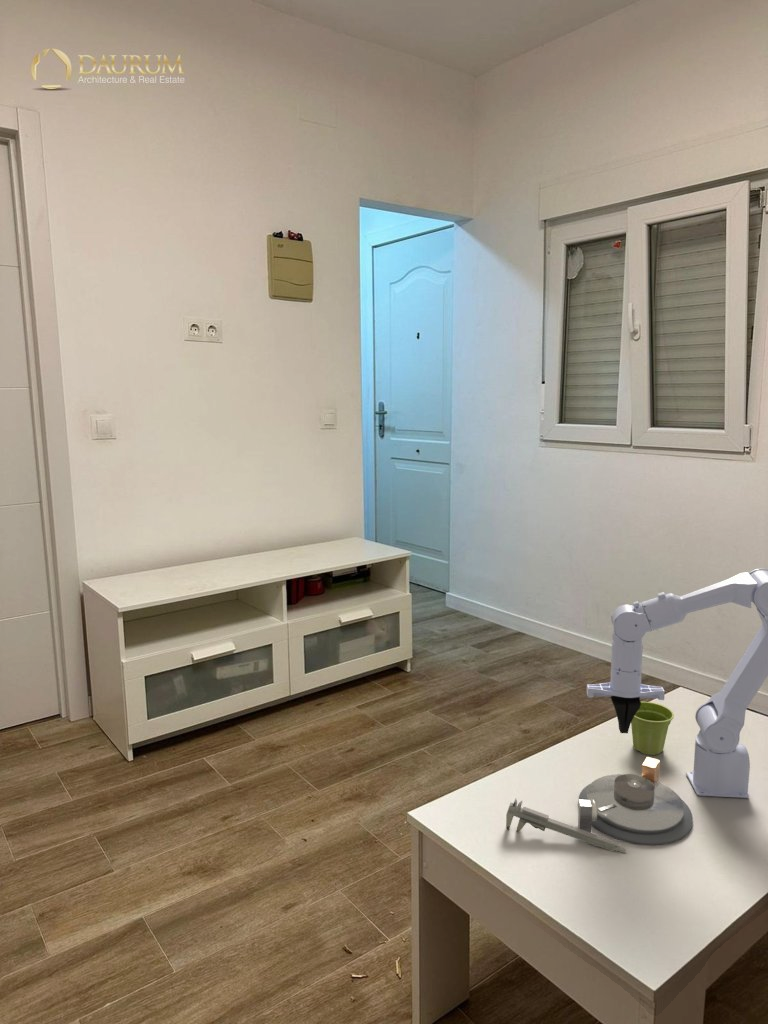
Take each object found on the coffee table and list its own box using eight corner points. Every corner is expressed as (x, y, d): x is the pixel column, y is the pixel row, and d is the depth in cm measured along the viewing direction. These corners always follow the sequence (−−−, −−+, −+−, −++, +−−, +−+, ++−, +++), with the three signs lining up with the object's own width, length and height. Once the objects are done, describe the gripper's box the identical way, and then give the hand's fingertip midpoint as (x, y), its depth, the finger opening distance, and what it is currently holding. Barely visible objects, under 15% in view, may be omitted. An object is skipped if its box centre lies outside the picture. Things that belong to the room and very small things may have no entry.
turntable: (714, 814, 132) (716, 795, 131) (632, 844, 124) (633, 823, 123) (645, 769, 147) (646, 752, 146) (567, 794, 139) (568, 775, 138)
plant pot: (664, 738, 162) (666, 702, 160) (677, 760, 152) (679, 722, 151) (621, 737, 162) (623, 700, 161) (631, 758, 153) (633, 720, 152)
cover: (662, 804, 133) (663, 788, 132) (631, 814, 130) (632, 797, 129) (635, 785, 139) (635, 770, 138) (605, 793, 136) (606, 778, 136)
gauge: (593, 825, 131) (594, 795, 130) (596, 837, 127) (597, 806, 126) (577, 824, 131) (578, 794, 130) (580, 837, 128) (581, 806, 127)
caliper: (505, 831, 130) (506, 799, 129) (507, 828, 131) (507, 796, 130) (625, 855, 123) (627, 821, 122) (626, 851, 124) (627, 818, 123)
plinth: (675, 784, 143) (675, 780, 143) (707, 848, 124) (707, 844, 124) (571, 779, 146) (571, 775, 146) (586, 841, 126) (587, 837, 126)
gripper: (659, 659, 145) (656, 722, 148) (585, 657, 147) (583, 720, 150) (668, 673, 138) (665, 739, 141) (590, 671, 140) (588, 736, 143)
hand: (623, 730), depth 145 cm, fingers closed
